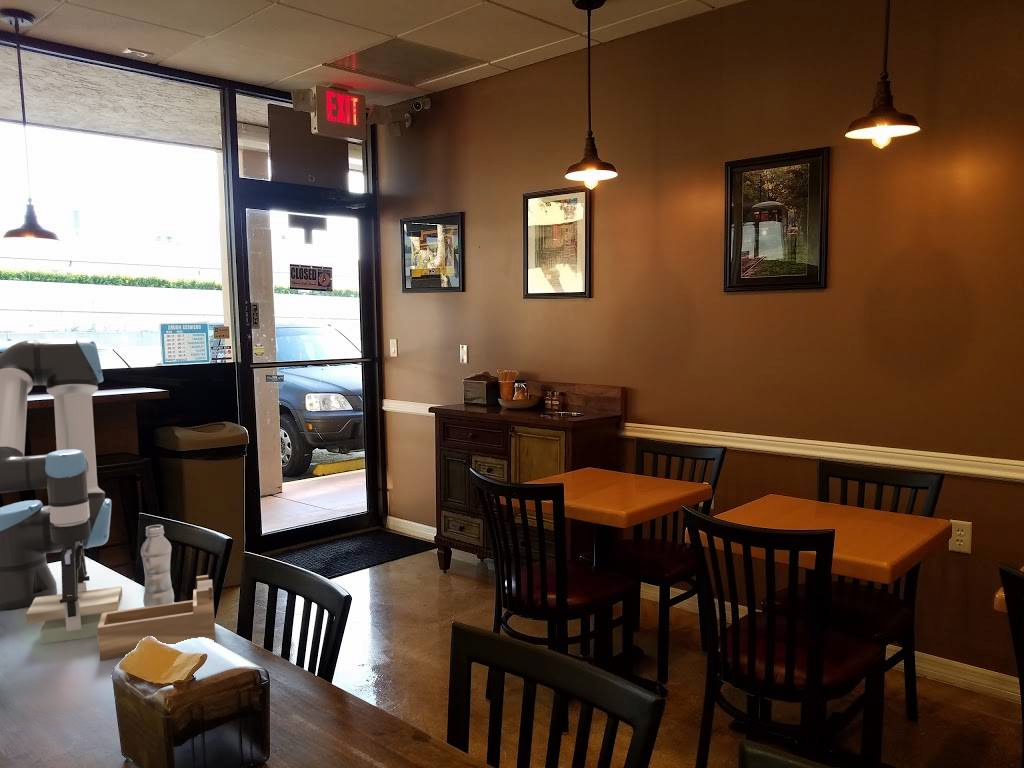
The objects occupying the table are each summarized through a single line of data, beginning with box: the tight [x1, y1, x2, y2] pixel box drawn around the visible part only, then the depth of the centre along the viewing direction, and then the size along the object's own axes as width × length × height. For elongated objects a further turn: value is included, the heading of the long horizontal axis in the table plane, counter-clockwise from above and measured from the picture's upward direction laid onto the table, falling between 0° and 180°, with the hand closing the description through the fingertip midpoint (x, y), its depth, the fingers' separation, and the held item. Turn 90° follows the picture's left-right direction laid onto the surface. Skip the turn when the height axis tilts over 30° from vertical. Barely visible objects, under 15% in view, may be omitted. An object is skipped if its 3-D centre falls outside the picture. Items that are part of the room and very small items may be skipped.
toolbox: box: [97, 574, 216, 661], centre depth 165 cm, size 10×22×12 cm, turn 112°
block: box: [196, 578, 214, 599], centre depth 168 cm, size 5×3×2 cm, turn 22°
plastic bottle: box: [140, 524, 175, 607], centre depth 183 cm, size 6×7×20 cm
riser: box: [40, 611, 113, 645], centre depth 172 cm, size 7×13×3 cm, turn 112°
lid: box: [25, 586, 123, 624], centre depth 171 cm, size 10×17×2 cm, turn 112°
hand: (77, 620), depth 171 cm, fingers closed on lid, 10 cm apart
